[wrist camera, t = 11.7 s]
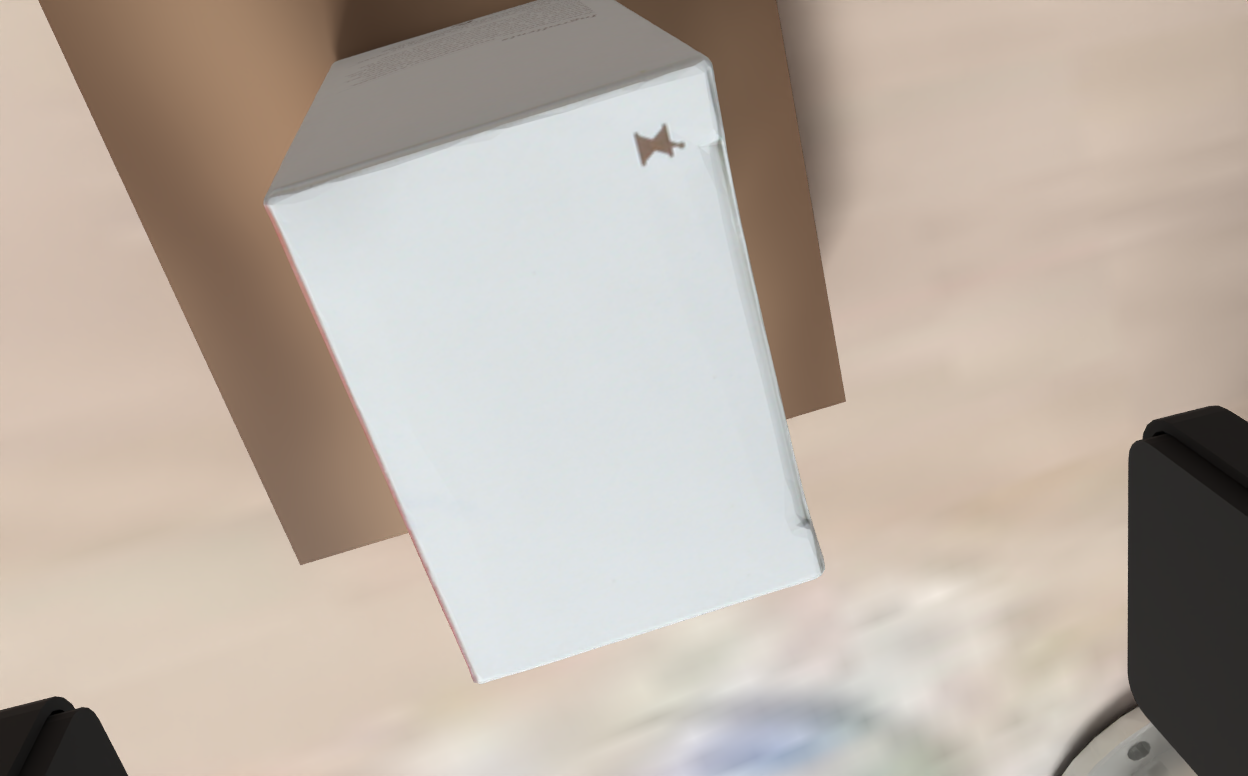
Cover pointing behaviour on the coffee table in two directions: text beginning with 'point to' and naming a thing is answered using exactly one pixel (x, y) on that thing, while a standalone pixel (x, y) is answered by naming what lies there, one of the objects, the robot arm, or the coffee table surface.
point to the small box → (549, 326)
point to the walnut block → (256, 262)
